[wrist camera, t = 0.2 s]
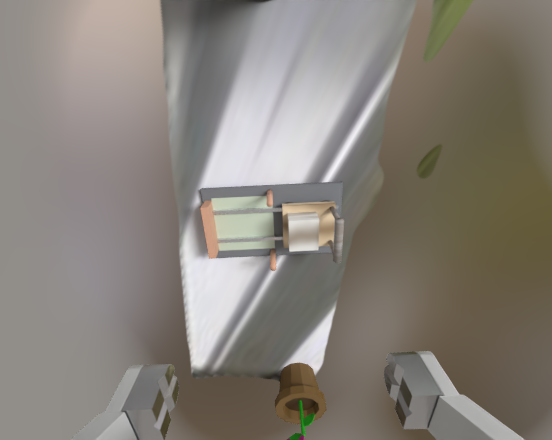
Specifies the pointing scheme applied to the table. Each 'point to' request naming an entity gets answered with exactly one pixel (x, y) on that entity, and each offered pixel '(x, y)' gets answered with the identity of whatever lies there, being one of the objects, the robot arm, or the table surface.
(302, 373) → the flowerpot
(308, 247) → the tan box with handle
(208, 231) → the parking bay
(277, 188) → the dock mat
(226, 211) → the rails
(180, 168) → the table surface
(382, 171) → the table surface
